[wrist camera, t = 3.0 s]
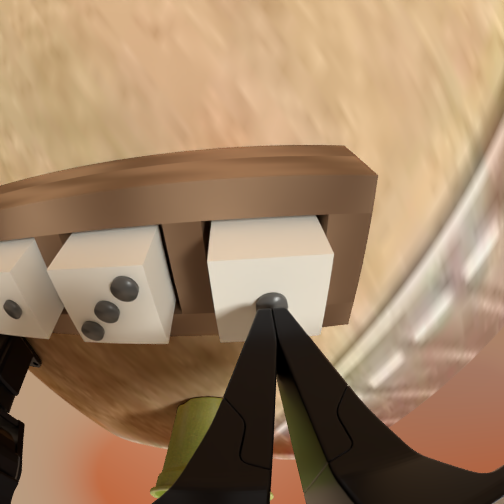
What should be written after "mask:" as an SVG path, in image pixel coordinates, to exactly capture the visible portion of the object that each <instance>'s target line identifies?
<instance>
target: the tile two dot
mask: <svg viewBox="0 0 504 504" xmlns="http://www.w3.org/2000/svg"><path fill="white" fill-rule="evenodd" d="M63 308H64V305H63V303H62V301H61V299H60V297H59V295H58V293H57V291H56V289H55V287H54V285H53V283H52V281H51V279H50V277H49V275H48V273H47V267H46V264H45V262H44V260H43V258H42V255H41V253H40V251H39V248H38V246H37V243H36V241H35V238H34V237H29V238H21V239H14V240H6V241H0V334H6V335H14V336H22V337H31V338H41V339H49V338H50V336H51V334H52V332H53V329H54V327H55V325H56V323H57V321H58V319H59V317H60V315H61V312H62V310H63Z"/></svg>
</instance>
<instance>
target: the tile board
mask: <svg viewBox="0 0 504 504" xmlns="http://www.w3.org/2000/svg"><path fill="white" fill-rule="evenodd" d="M377 179H378V175H377V174H376V173H375V172H374V171H373V170H371V169H370V168H369V167H368V166H367V165H366V164H365V163H364V162H363V161H361V160H360V159H359V158H358V157H357V156H356V155H355V154H353V153H352V152H351V151H350V150H349V149H347V148H346V147H345V146H336V145H282V146H253V147H234V148H219V149H206V150H195V151H184V152H175V153H166V154H158V155H150V156H142V157H135V158H129V159H122V160H116V161H110V162H104V163H98V164H92V165H87V166H82V167H77V168H72V169H67V170H62V171H57V172H53V173H49V174H44V175H40V176H36V177H32V178H28V179H24V180H20V181H16V182H12V183H9V184H5V185H1V186H0V241H6V240H14V239H21V238H29V237H34V238H35V241H36V243H37V246H38V248H39V251H40V253H41V255H42V258H43V260H44V262H45V264H46V267H47V268H48V267H49V265H50V264H51V262H52V261H53V260H54V258H55V257H56V255H57V254H58V252H59V251H60V249H61V248H62V247H63V245H64V244H65V242H66V241H67V240H68V238H69V237H70V235H71V234H72V233H73V232H82V231H92V230H102V229H112V228H123V227H134V226H145V225H157V224H159V229H160V233H161V238H162V243H163V247H164V251H165V256H166V260H167V264H168V268H169V273H170V277H171V281H172V285H173V289H174V292H175V296H176V303H175V309H174V314H173V320H172V326H171V332H170V336H202V335H219V332H218V326H217V321H216V315H215V309H214V303H213V296H212V290H211V284H210V277H209V271H208V264H207V258H208V249H209V239H210V230H211V221H212V220H226V219H242V218H260V217H279V216H301V215H316V217H317V219H318V221H319V223H320V225H321V227H322V229H323V231H324V233H325V235H326V237H327V240H328V242H329V244H330V246H331V248H332V250H333V252H334V258H333V264H332V271H331V277H330V284H329V290H328V296H327V302H326V307H325V313H324V318H323V324H322V327H327V326H336V325H344V324H348V322H349V318H350V314H351V310H352V306H353V302H354V298H355V294H356V290H357V286H358V282H359V277H360V273H361V268H362V264H363V259H364V254H365V249H366V244H367V239H368V234H369V228H370V223H371V217H372V211H373V205H374V199H375V192H376V186H377ZM52 333H62V334H79V335H80V333H79V332H78V330H77V328H76V327H75V325H74V323H73V321H72V320H71V318H70V316H69V314H68V312H67V310H66V309H65V307H64V308H63V310H62V312H61V315H60V317H59V319H58V321H57V323H56V325H55V327H54V329H53V332H52Z"/></svg>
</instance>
